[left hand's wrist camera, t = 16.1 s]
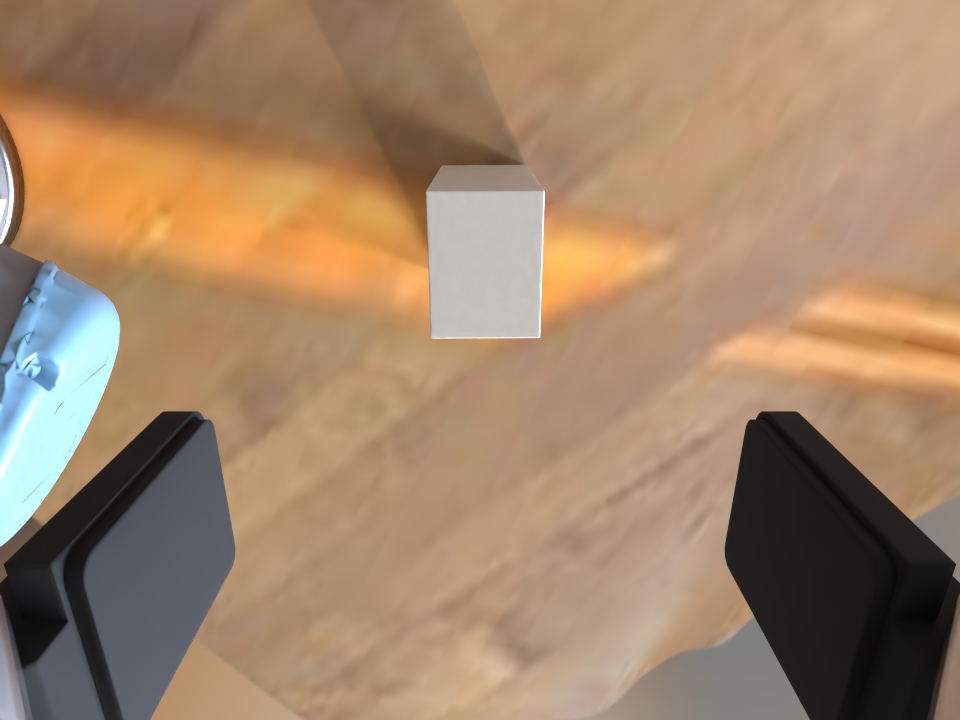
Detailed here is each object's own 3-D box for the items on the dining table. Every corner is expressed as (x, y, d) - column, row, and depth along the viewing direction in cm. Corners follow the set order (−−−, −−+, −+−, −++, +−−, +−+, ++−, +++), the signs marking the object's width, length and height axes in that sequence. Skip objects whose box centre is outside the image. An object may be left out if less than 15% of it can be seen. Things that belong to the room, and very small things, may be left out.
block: (441, 165, 38) (425, 190, 27) (526, 164, 38) (544, 190, 27) (444, 275, 41) (431, 338, 30) (524, 274, 41) (539, 338, 30)
